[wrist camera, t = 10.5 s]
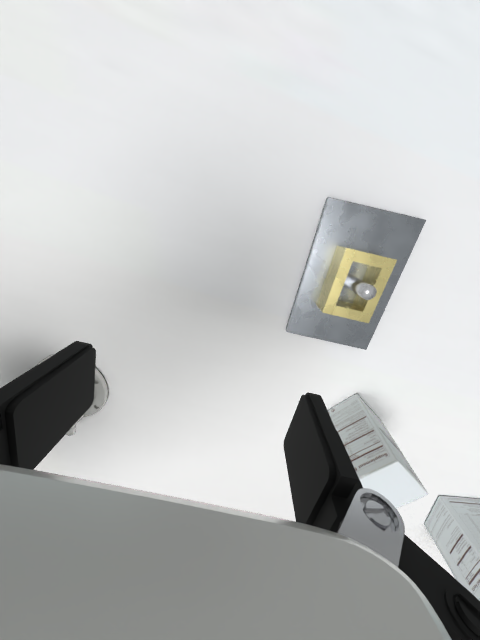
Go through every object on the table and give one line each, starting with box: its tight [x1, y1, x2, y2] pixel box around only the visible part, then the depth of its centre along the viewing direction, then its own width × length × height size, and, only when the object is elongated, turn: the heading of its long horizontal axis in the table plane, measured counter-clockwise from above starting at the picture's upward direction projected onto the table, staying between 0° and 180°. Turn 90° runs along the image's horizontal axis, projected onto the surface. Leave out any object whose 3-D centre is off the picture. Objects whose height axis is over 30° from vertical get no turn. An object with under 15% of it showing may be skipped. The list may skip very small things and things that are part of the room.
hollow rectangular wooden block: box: [316, 246, 397, 323], centre depth 31 cm, size 8×6×4 cm
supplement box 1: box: [328, 394, 428, 508], centre depth 35 cm, size 7×7×13 cm
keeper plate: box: [286, 197, 426, 350], centre depth 30 cm, size 18×12×7 cm, turn 168°
